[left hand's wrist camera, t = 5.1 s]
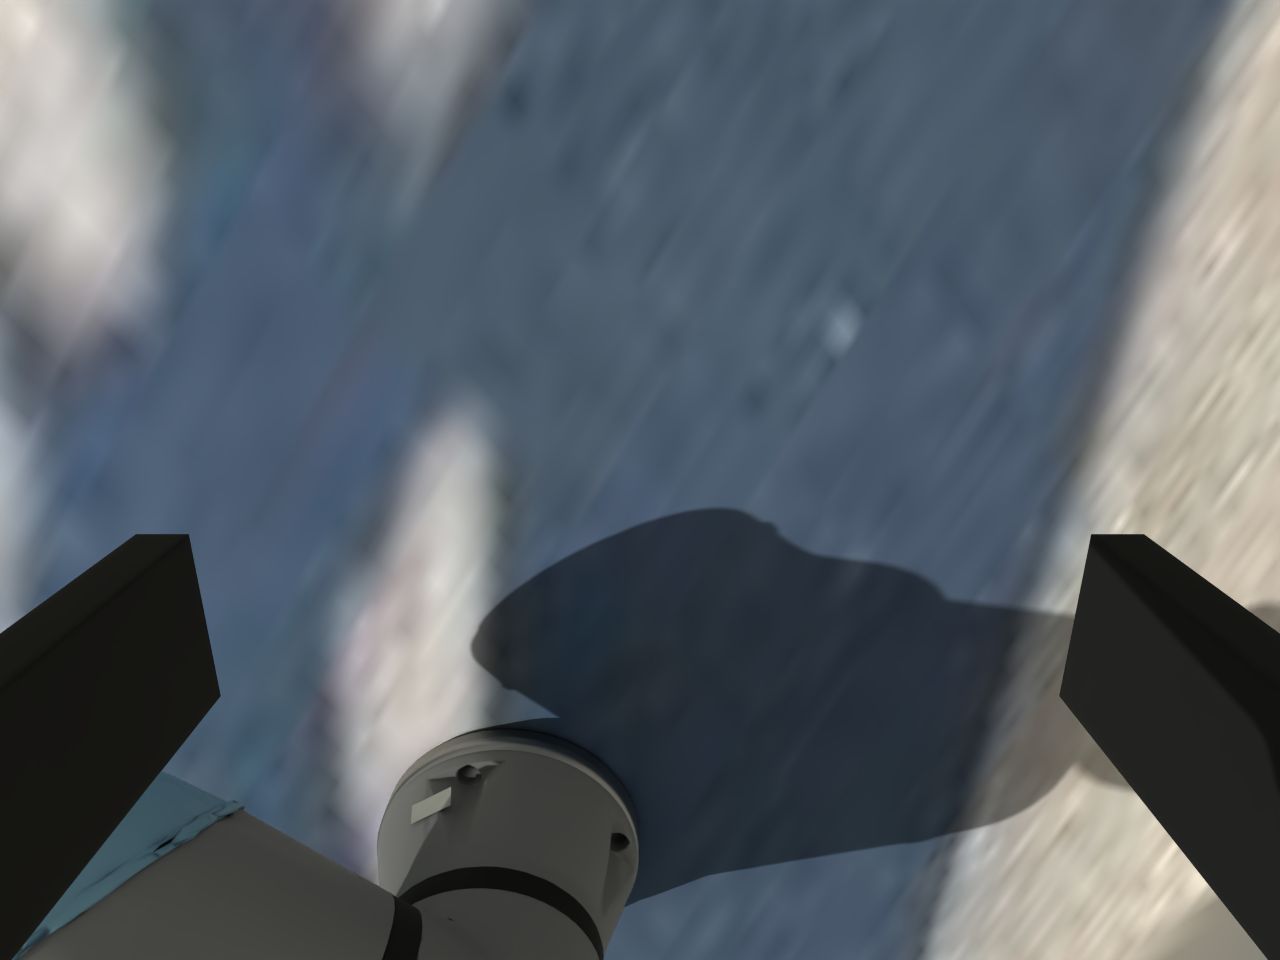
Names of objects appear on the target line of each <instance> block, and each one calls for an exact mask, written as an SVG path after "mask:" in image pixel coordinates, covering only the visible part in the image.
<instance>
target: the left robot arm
mask: <svg viewBox="0 0 1280 960" xmlns="http://www.w3.org/2000/svg"><path fill="white" fill-rule="evenodd" d="M219 697H220V690H219V685H218V680H217V675H216V670H215V665H214V660H213V655H212V650H211V645H210V640H209V635H208V630H207V625H206V620H205V614H204V609H203V604H202V599H201V594H200V589H199V584H198V579H197V574H196V569H195V564H194V559H193V554H192V549H191V544H190V538H189V534H136V535H134V536H133V537H132V538H130V539H129V540H128V541H126V542H125V543H124V544H122V545H121V546H119V547H118V548H117V549H115V550H114V551H113V552H111V553H110V554H108V555H107V556H106V557H104V558H103V559H102V560H100V561H99V562H98V563H96V564H95V565H93V566H92V567H91V568H89V569H88V570H87V571H85V572H84V573H82V574H81V575H80V576H78V577H77V578H76V579H74V580H73V581H72V582H70V583H69V584H67V585H66V586H65V587H63V588H62V589H61V590H59V591H58V592H57V593H55V594H54V595H52V596H51V597H50V598H48V599H47V600H46V601H44V602H43V603H41V604H40V605H39V606H37V607H36V608H35V609H33V610H32V611H31V612H29V613H28V614H26V615H25V616H24V617H22V618H21V619H20V620H18V621H17V622H16V623H14V624H13V625H11V626H10V627H9V628H7V629H6V630H5V631H3V632H2V633H0V960H603V959H604V953H605V951H606V948H607V946H608V944H609V941H610V939H611V937H612V934H613V932H614V930H615V927H616V925H617V923H618V920H619V918H620V916H621V913H622V911H623V909H624V906H625V904H626V902H627V899H628V897H629V895H630V893H631V891H632V888H633V885H634V883H635V880H636V875H637V871H638V861H639V838H638V823H637V817H636V814H635V810H634V807H633V804H632V802H631V800H630V797H629V796H628V794H627V792H626V790H625V788H624V787H623V786H622V784H621V783H620V781H619V780H618V779H617V778H616V776H615V775H614V774H613V773H612V772H611V771H610V770H609V769H608V768H607V767H606V766H605V765H604V764H603V763H602V762H600V761H599V760H598V759H597V758H595V757H594V756H593V755H591V754H589V753H588V752H586V751H585V750H583V749H581V748H579V747H577V746H575V745H574V744H572V743H569V742H567V741H564V740H562V739H559V738H556V737H553V736H550V735H546V734H542V733H538V732H532V731H525V730H512V729H502V730H488V731H481V732H476V733H471V734H467V735H464V736H460V737H457V738H455V739H452V740H449V741H447V742H445V743H443V744H441V745H439V746H437V747H435V748H434V749H432V750H430V751H429V752H427V753H426V754H424V755H423V756H422V757H421V758H419V759H418V760H417V761H416V762H415V763H414V764H413V765H412V766H411V767H410V768H409V769H408V770H407V771H406V772H405V774H404V775H403V776H402V777H401V779H400V780H399V782H398V784H397V785H396V787H395V789H394V791H393V793H392V795H391V798H390V800H389V803H388V806H387V808H386V811H385V813H384V816H383V819H382V821H381V824H380V828H379V833H378V841H377V856H378V874H379V886H377V885H376V884H374V883H372V882H370V881H368V880H367V879H365V878H363V877H361V876H359V875H358V874H356V873H354V872H352V871H350V870H349V869H347V868H345V867H343V866H341V865H340V864H338V863H336V862H334V861H332V860H331V859H329V858H327V857H325V856H323V855H322V854H320V853H318V852H316V851H314V850H313V849H311V848H309V847H307V846H305V845H304V844H302V843H300V842H298V841H296V840H295V839H293V838H291V837H289V836H287V835H286V834H284V833H282V832H280V831H278V830H277V829H275V828H273V827H271V826H269V825H268V824H266V823H264V822H262V821H261V820H259V819H257V818H255V817H254V816H252V815H250V814H249V813H247V812H245V811H243V809H244V808H245V807H244V806H243V805H242V804H241V803H239V802H237V801H234V800H233V801H229V802H227V801H225V800H223V799H220V798H218V797H216V796H214V795H212V794H210V793H208V792H206V791H204V790H202V789H200V788H197V787H195V786H193V785H191V784H189V783H187V782H185V781H183V780H181V779H179V778H177V777H174V776H172V775H170V774H168V773H164V772H161V771H162V769H163V768H164V767H165V766H166V764H167V763H168V762H169V761H170V759H171V758H172V757H173V755H174V754H175V753H176V752H177V750H178V749H179V748H180V747H181V745H182V744H183V743H184V742H185V740H186V739H187V738H188V737H189V735H190V734H191V733H192V731H193V730H194V729H195V728H196V726H197V725H198V724H199V723H200V721H201V720H202V719H203V718H204V716H205V715H206V714H207V712H208V711H209V710H210V709H211V707H212V706H213V705H214V704H215V702H216V701H217V700H218V699H219ZM1060 697H1061V699H1062V700H1063V701H1064V702H1065V704H1066V705H1067V706H1068V707H1069V709H1070V710H1071V711H1072V712H1073V714H1074V715H1075V716H1076V718H1077V719H1078V720H1079V721H1080V723H1081V724H1082V725H1083V726H1084V728H1085V729H1086V730H1087V731H1088V733H1089V734H1090V735H1091V737H1092V738H1093V739H1094V740H1095V742H1096V743H1097V744H1098V745H1099V747H1100V748H1101V749H1102V750H1103V752H1104V753H1105V754H1106V755H1107V757H1108V758H1109V759H1110V761H1111V762H1112V763H1113V764H1114V766H1115V767H1116V768H1117V769H1118V771H1119V772H1120V773H1121V774H1122V776H1123V777H1124V778H1125V779H1126V781H1127V782H1128V783H1129V785H1130V786H1131V787H1132V788H1133V790H1134V791H1135V792H1136V793H1137V795H1138V796H1139V797H1140V798H1141V800H1142V801H1143V802H1144V804H1145V805H1146V806H1147V807H1148V809H1149V810H1150V811H1151V812H1152V814H1153V815H1154V816H1155V817H1156V819H1157V820H1158V821H1159V822H1160V824H1161V825H1162V826H1163V828H1164V829H1165V830H1166V831H1167V833H1168V834H1169V835H1170V836H1171V838H1172V839H1173V840H1174V841H1175V843H1176V844H1177V845H1178V847H1179V848H1180V849H1181V850H1182V852H1183V853H1184V854H1185V855H1186V857H1187V858H1188V859H1189V860H1190V862H1191V863H1192V864H1193V865H1194V867H1195V868H1196V869H1197V871H1198V872H1199V873H1200V874H1201V876H1202V877H1203V878H1204V879H1205V881H1206V882H1207V883H1208V884H1209V886H1210V887H1211V888H1212V889H1213V891H1214V892H1215V893H1216V895H1217V896H1218V897H1219V898H1220V900H1221V901H1222V902H1223V903H1224V905H1225V906H1226V907H1227V908H1228V910H1229V911H1230V912H1231V913H1232V915H1233V916H1234V917H1235V919H1236V920H1237V921H1238V922H1239V924H1240V925H1241V926H1242V927H1243V929H1244V930H1245V931H1246V932H1247V934H1248V935H1249V936H1250V938H1251V939H1252V940H1253V941H1254V943H1255V944H1256V945H1257V946H1258V948H1259V949H1260V950H1261V951H1262V953H1263V954H1264V955H1265V957H1266V958H1267V959H1268V960H1280V633H1278V632H1277V631H1275V630H1274V629H1273V628H1271V627H1270V626H1269V625H1267V624H1266V623H1264V622H1263V621H1262V620H1260V619H1259V618H1258V617H1256V616H1255V615H1254V614H1252V613H1251V612H1249V611H1248V610H1247V609H1245V608H1244V607H1243V606H1241V605H1240V604H1239V603H1237V602H1236V601H1234V600H1233V599H1232V598H1230V597H1229V596H1228V595H1226V594H1225V593H1223V592H1222V591H1221V590H1219V589H1218V588H1217V587H1215V586H1214V585H1213V584H1211V583H1210V582H1208V581H1207V580H1206V579H1204V578H1203V577H1202V576H1200V575H1199V574H1198V573H1196V572H1195V571H1193V570H1192V569H1191V568H1189V567H1188V566H1187V565H1185V564H1184V563H1182V562H1181V561H1180V560H1178V559H1177V558H1176V557H1174V556H1173V555H1172V554H1170V553H1169V552H1167V551H1166V550H1165V549H1163V548H1162V547H1161V546H1159V545H1158V544H1156V543H1155V542H1154V541H1152V540H1151V539H1150V538H1148V537H1147V536H1146V535H1144V534H1091V538H1090V544H1089V549H1088V554H1087V559H1086V564H1085V569H1084V574H1083V579H1082V584H1081V589H1080V594H1079V599H1078V604H1077V609H1076V614H1075V620H1074V625H1073V630H1072V635H1071V640H1070V645H1069V650H1068V655H1067V660H1066V665H1065V670H1064V675H1063V680H1062V685H1061V690H1060Z"/></svg>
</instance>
